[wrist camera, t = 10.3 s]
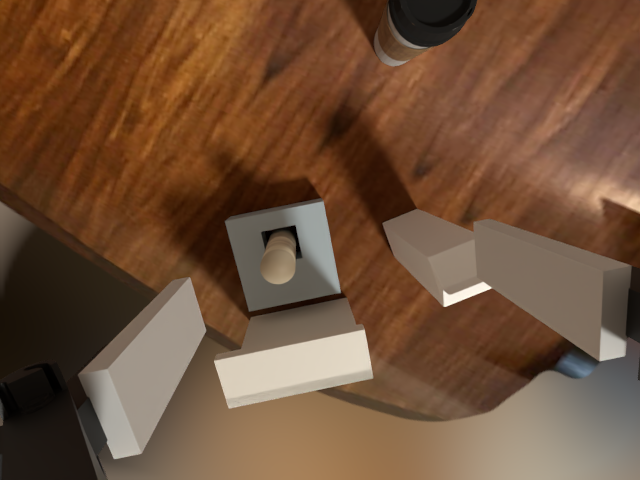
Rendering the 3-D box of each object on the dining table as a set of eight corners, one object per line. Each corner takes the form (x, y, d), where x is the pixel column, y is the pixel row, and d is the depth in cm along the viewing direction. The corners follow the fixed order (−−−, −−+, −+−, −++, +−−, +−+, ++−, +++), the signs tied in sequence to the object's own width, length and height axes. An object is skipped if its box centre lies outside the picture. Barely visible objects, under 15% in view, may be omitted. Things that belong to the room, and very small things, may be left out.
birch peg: (267, 229, 51) (256, 254, 37) (293, 223, 51) (291, 247, 37) (273, 253, 52) (264, 287, 38) (298, 248, 52) (298, 280, 38)
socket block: (230, 216, 50) (224, 221, 46) (321, 198, 50) (323, 201, 46) (252, 300, 53) (249, 311, 49) (337, 282, 53) (340, 292, 50)
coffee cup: (402, 88, 47) (449, 56, 32) (352, 53, 46) (378, 4, 31) (436, 32, 46) (501, -28, 31) (386, -6, 44) (429, -87, 30)
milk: (381, 222, 52) (438, 266, 30) (417, 207, 51) (501, 241, 30) (394, 257, 53) (457, 322, 32) (429, 242, 53) (517, 298, 31)
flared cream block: (243, 290, 53) (213, 360, 34) (341, 270, 53) (364, 329, 34) (252, 323, 54) (228, 408, 36) (347, 304, 54) (373, 378, 36)
